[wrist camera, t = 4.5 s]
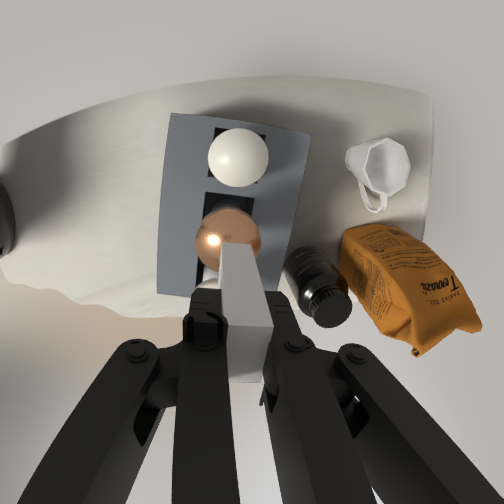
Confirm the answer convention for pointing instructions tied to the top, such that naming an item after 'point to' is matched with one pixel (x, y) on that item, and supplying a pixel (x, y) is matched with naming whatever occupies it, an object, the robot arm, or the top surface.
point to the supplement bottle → (318, 287)
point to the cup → (379, 168)
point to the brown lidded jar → (225, 232)
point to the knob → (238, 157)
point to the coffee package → (405, 286)
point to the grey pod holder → (212, 190)
